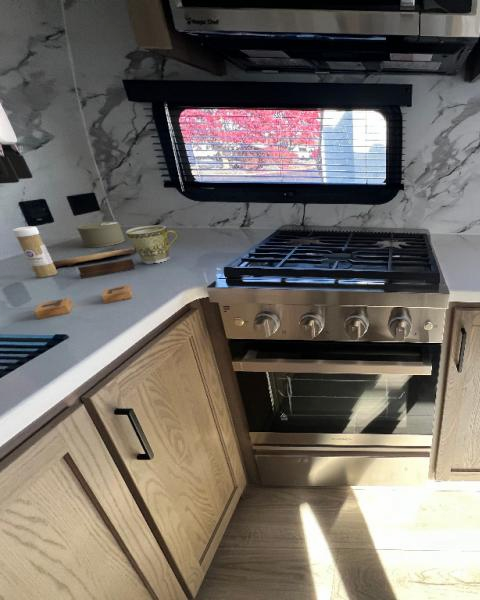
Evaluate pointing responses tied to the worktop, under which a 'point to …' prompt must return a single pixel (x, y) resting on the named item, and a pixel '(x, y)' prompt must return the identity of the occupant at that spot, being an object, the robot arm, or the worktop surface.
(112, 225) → the olive green bowl
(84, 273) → the dark brown wooden block
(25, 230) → the sprinkles bottle
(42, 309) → the tile
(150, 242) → the ceramic cup
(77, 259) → the wooden board
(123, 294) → the tile
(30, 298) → the worktop surface
